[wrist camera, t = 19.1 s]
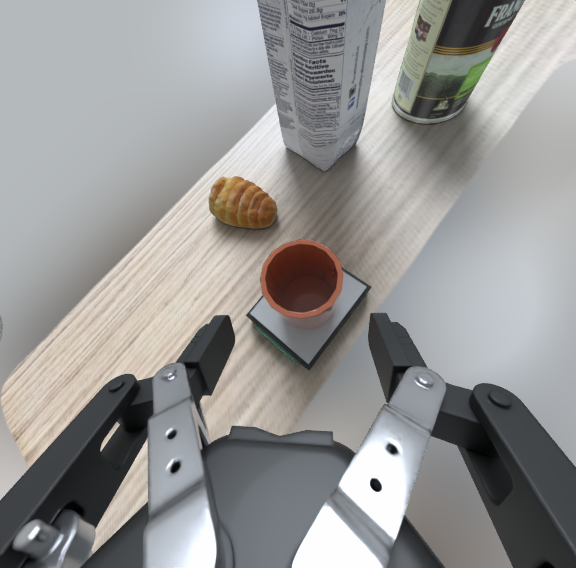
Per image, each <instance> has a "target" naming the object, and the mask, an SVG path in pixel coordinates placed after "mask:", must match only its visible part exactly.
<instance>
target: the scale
mask: <svg viewBox="0 0 576 568" xmlns="http://www.w3.org/2000/svg"><path fill="white" fill-rule="evenodd" d="M342 271H343V275H344V276H343V284H342V291H341V294H340V297H339V300H338V303H337V306H336V309H335V311H334V313H333V315H332V316H331V318H330V319H329V320H328V321H327V322H326V323H325V324H323V325H322V326H320V327H318V328H314V329H301V328H298V327H295V326H294V325H292V324H291V323H289V322H287V321H286V320H285V319H284V318H283V317H282V316H281V315H280V314H278V313H277V312H276V311H275V310H274V309H273V308H272V307H271V306H270V305H269V303H268V302H267V300H266V299H265V297H264V296H262V297H261V298H260V299H259V300H258V302H257V303H256V304H255V305H254V306H253V308H252V309H251V310H250V311H249V312H248V314H247V315H246V316H247V317H248V318H249V319H251V320H252V321H253V322H254V323H255V324H256V325H255V328H256V329H257V330H258V331H259V332H260V333H261V334H263V335H264V336H265V337H266V338H267V339H268V340H269V341H271V342H272V343H273V344H274V345H275V346H276V347H277V348H278V349H280V350H281V351H282V352H283V353H284V354H285V355H286V356H287V357H289V358H290V359H291V360H292V361H293V362H294V363H297V362H300V363H301V364H302V365H303V366H304V367H305V368H306V369H308V370H310V368H311V367H312V366H313V364H314V363H315V362H316V360H317V359H318V358H319V357H320V355H321V354H322V353H323V351H324V350H325V349H326V347H327V346H328V345H329V343H330V342H331V341H332V339H333V338H334V337H335V335H336V334H337V333H338V331H339V330H340V329H341V327H342V326H343V325H344V323H345V322H346V321H347V319H348V318H349V317H350V315H351V314H352V313H353V311H354V310H355V309H356V307H357V306H358V305H359V303H360V302H361V301H362V299H363V298H364V297H365V295H366V294H367V293H368V291H369V290H370V289H371V286H369V285H368V284H366V283H365V282H363V281H362V280H360V279H359V278H357V277H356V276H354V275H353V274H351V273H350V272H348V271H347V270H345V269H344V268H342Z"/></svg>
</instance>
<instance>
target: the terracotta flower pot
mask: <svg viewBox="0 0 576 568" xmlns="http://www.w3.org/2000/svg"><path fill="white" fill-rule="evenodd" d="M343 276H344V275H343V271H342V267H341V264H340V261H339V259H338V258H337V257H336V255H335V254H334V253H333V252H332V251H331V250H330V249H329V248H328V247H326V246H324V245H322V244H320V243H318V242H316V241H311V240H301V239H300V240H295V241H291V242H288V243H285V244H283V245H281V246H280V247H279V248H277V249H276V250H274V251H273V252H272V253H271V254H270V256H269V257H268V258H267V260H266V261H265V263H264V265H263V268H262V272H261V277H260V283H261V288H262V294H263V296H264V297H265V299H266V300H267V302H268V303H269V305H270V306H271V307H272V308H273V309H274V310H275V311H276V312H277V313H278V314H280V315H281V316H282V317H283V318H284V319H285V320H286V321H287V322H289V323H291V324H292V325H294V326H295V327H298V328H301V329H314V328H318V327H320V326H322V325H323V324H325V323H326V322H327V321H328V320H329V319H330V318H331V316H332V315H333V313H334V311H335V309H336V306H337V303H338V300H339V297H340V294H341V291H342V284H343Z"/></svg>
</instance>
